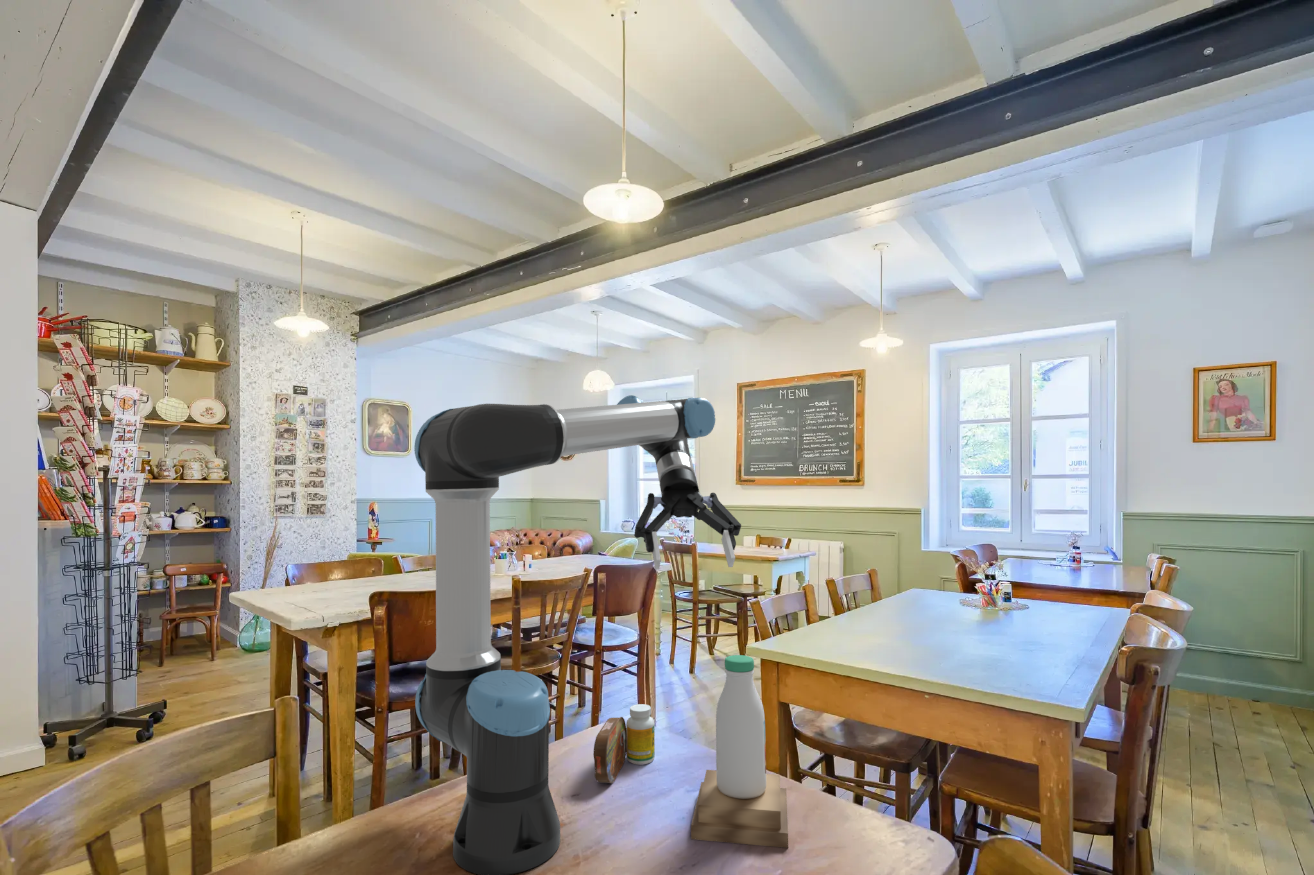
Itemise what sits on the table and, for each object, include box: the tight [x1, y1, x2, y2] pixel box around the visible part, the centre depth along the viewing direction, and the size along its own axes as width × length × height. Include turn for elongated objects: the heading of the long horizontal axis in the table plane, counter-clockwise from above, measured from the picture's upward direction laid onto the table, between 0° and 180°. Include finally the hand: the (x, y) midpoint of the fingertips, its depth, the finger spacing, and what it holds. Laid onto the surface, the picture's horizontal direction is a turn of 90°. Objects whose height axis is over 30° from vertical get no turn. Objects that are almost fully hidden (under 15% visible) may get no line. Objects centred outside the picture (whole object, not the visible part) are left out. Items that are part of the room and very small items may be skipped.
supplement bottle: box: [625, 703, 656, 766], centre depth 124 cm, size 5×5×10 cm
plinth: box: [690, 769, 789, 849], centre depth 102 cm, size 14×14×4 cm
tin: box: [593, 716, 627, 784], centre depth 119 cm, size 15×3×8 cm, turn 169°
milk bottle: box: [715, 654, 767, 799], centre depth 103 cm, size 8×8×20 cm
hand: (695, 563), depth 118 cm, fingers open, 13 cm apart
